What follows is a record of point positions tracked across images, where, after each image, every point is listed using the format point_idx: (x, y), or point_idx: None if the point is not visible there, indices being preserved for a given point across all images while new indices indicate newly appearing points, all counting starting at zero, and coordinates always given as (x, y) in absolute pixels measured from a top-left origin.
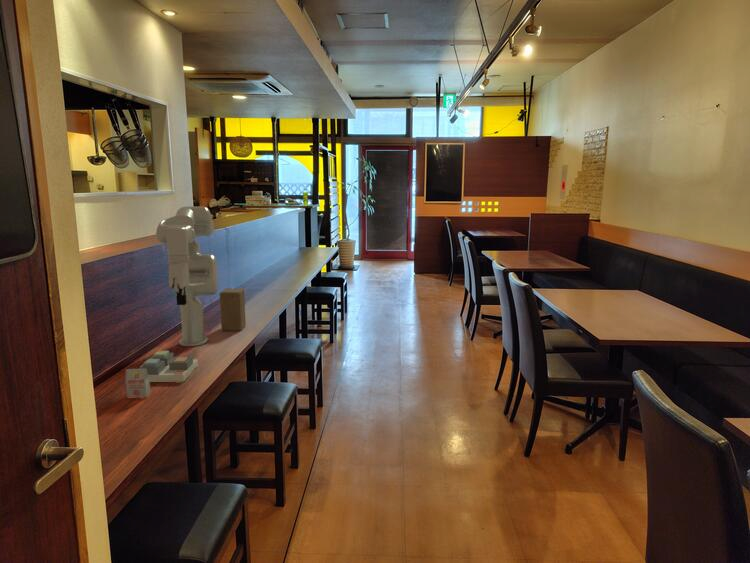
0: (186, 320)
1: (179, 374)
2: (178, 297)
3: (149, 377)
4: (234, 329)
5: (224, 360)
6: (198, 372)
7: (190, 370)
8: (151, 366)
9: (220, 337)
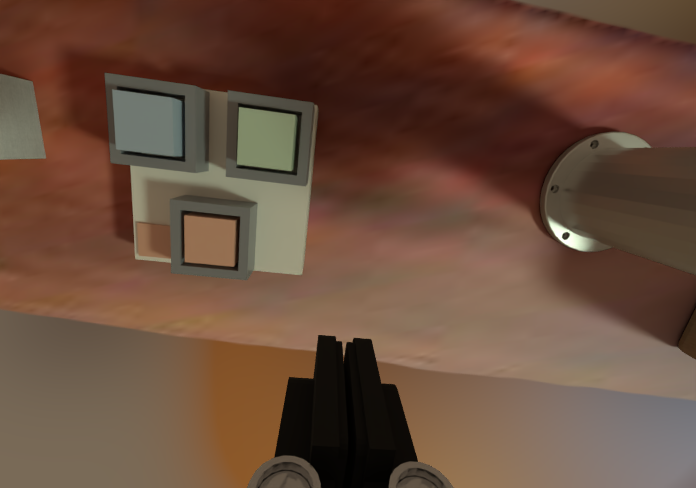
0: (670, 192)
1: (137, 243)
2: (278, 449)
3: None
4: (690, 329)
5: None
6: None
7: None
8: None
9: (623, 286)
